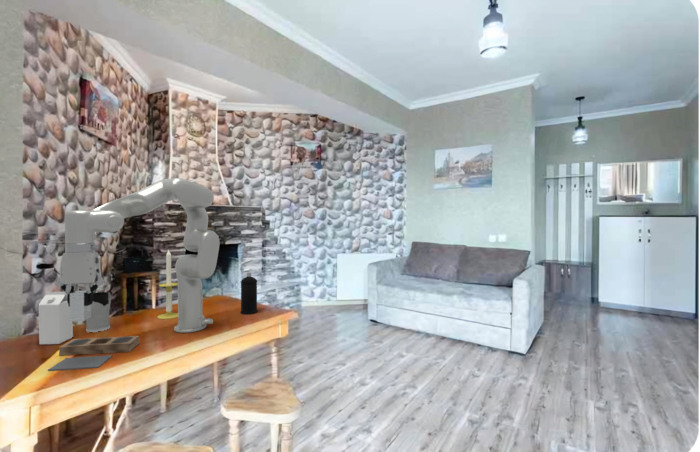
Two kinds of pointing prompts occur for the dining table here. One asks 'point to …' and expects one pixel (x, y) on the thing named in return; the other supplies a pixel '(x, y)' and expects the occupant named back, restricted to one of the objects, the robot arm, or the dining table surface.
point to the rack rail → (99, 345)
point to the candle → (168, 290)
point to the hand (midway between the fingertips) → (80, 304)
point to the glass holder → (99, 312)
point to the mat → (80, 363)
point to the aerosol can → (248, 295)
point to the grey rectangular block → (79, 307)
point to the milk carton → (54, 319)
